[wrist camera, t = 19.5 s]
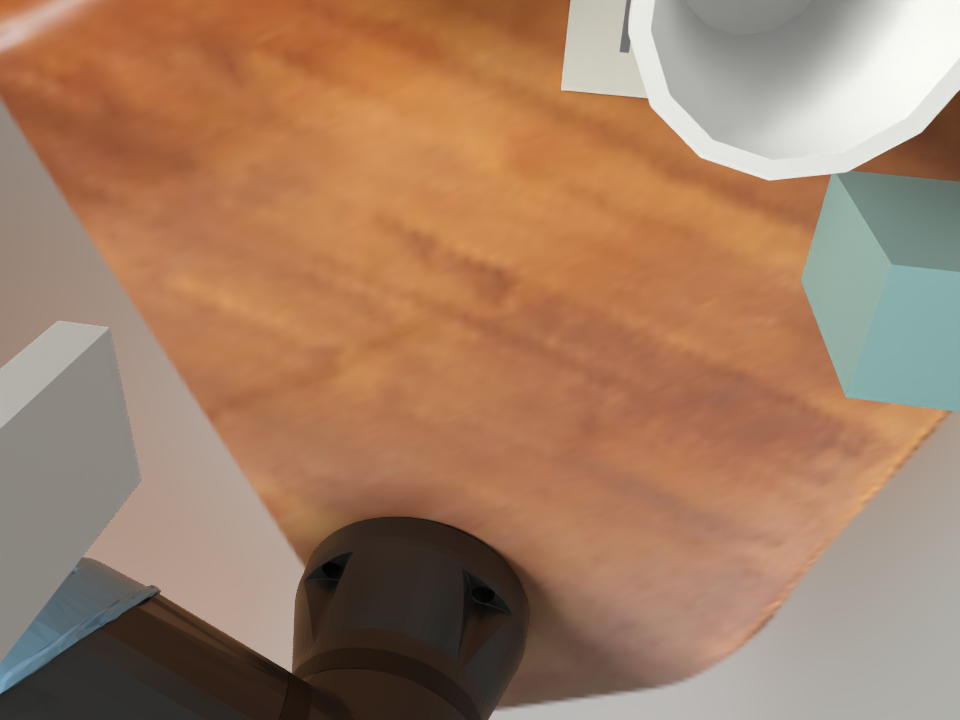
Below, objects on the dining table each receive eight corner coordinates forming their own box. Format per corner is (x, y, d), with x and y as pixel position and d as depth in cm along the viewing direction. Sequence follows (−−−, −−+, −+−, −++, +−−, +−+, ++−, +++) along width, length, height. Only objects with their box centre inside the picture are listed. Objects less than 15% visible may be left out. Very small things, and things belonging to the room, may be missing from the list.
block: (800, 280, 40) (845, 397, 31) (833, 168, 37) (892, 264, 29) (921, 294, 39) (999, 416, 31) (963, 182, 36) (1062, 283, 28)
